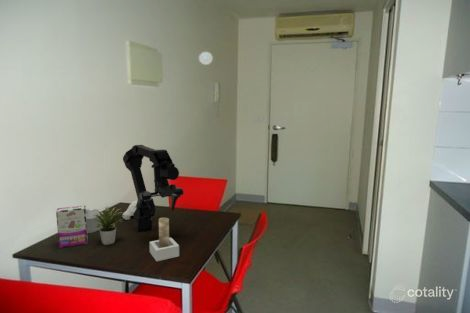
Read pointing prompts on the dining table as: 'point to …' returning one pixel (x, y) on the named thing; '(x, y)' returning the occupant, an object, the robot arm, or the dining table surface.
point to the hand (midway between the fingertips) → (162, 212)
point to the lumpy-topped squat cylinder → (92, 220)
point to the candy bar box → (72, 226)
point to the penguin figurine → (130, 210)
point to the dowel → (163, 232)
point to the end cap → (164, 250)
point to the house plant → (108, 226)
